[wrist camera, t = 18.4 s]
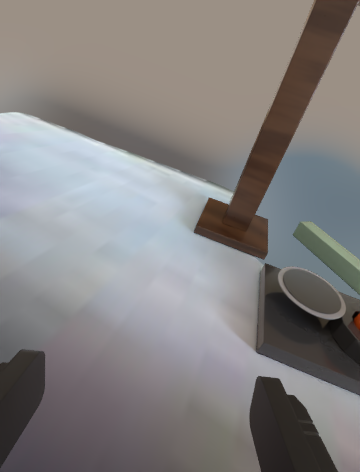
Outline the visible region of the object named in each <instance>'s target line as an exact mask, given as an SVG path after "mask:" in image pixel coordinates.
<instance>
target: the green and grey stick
mask: <svg viewBox="0 0 360 472" xmlns="http://www.w3.org/2000/svg"><path fill="white" fill-rule="evenodd" d="M293 236H294V237H296V238H297V239H298V240H299V241H300V242H301V243H302V244H303V245H305V246H306V247H307V248H308V249H309V250H310V251H311V252H312V253H313V254H314V255H316V256H317V257H318V258H319V259H320V260H321V261H323V263H325V264H326V265H327V266H328V267H329V268H330V269H331V270H333V272H335V273H336V274H337V275H338V276H339V277H340V278H341V279H342V280H344V281H345V282H346V283H347V284H348V285H349V286H350V287H351V288H352V289H354V290H355V291H356V292H357V293H358V294H360V260H359V259H358V258H356V257H355V256H354V255H353V254H351V253H350V252H349V251H348V250H346V249H345V248H344V247H343V246H341V245H340V244H339V243H338V242H336V241H335V240H334V239H333V238H331V237H330V236H329V235H327V234H326V233H325V232H324V231H322V230H321V229H320V228H319V227H317V226H316V225H315V224H314V223H312V222H300V224H299V225H298V227H297V229H296V230H295V232H294V233H293Z"/></svg>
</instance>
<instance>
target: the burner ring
mask: <svg viewBox="0 0 360 472" xmlns="http://www.w3.org/2000/svg"><path fill="white" fill-rule="evenodd" d="M278 282H279V285H280V287H281V289H282V290H283V292H284V293H285V294H286V295H287V297H288V298H289V299H290V300H291V301H292V302H294V303H295V304H296V305H297V306H299V307H300V308H302V309H303V310H305V311H307V312H308V313H310V314H312V315H315V316H317V317H320V318H324V319H332V320H333V319H339V318H341V317H342V316H343V315H344V314H345V312H346V306H345V302H344V300H343V298H342V296H341V295H340V294H339V292H338V291H337V290H336V289H335V288H334V287H333V286H332V285H331V284H330V283H329V282H327V281H326V280H325V279H323V278H321V277H320V276H319V275H317V274H315V273H313V272H311V271H309V270H306V269H303V268H299V267H285V268H283V269H281V270H280V272H279V273H278Z"/></svg>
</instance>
